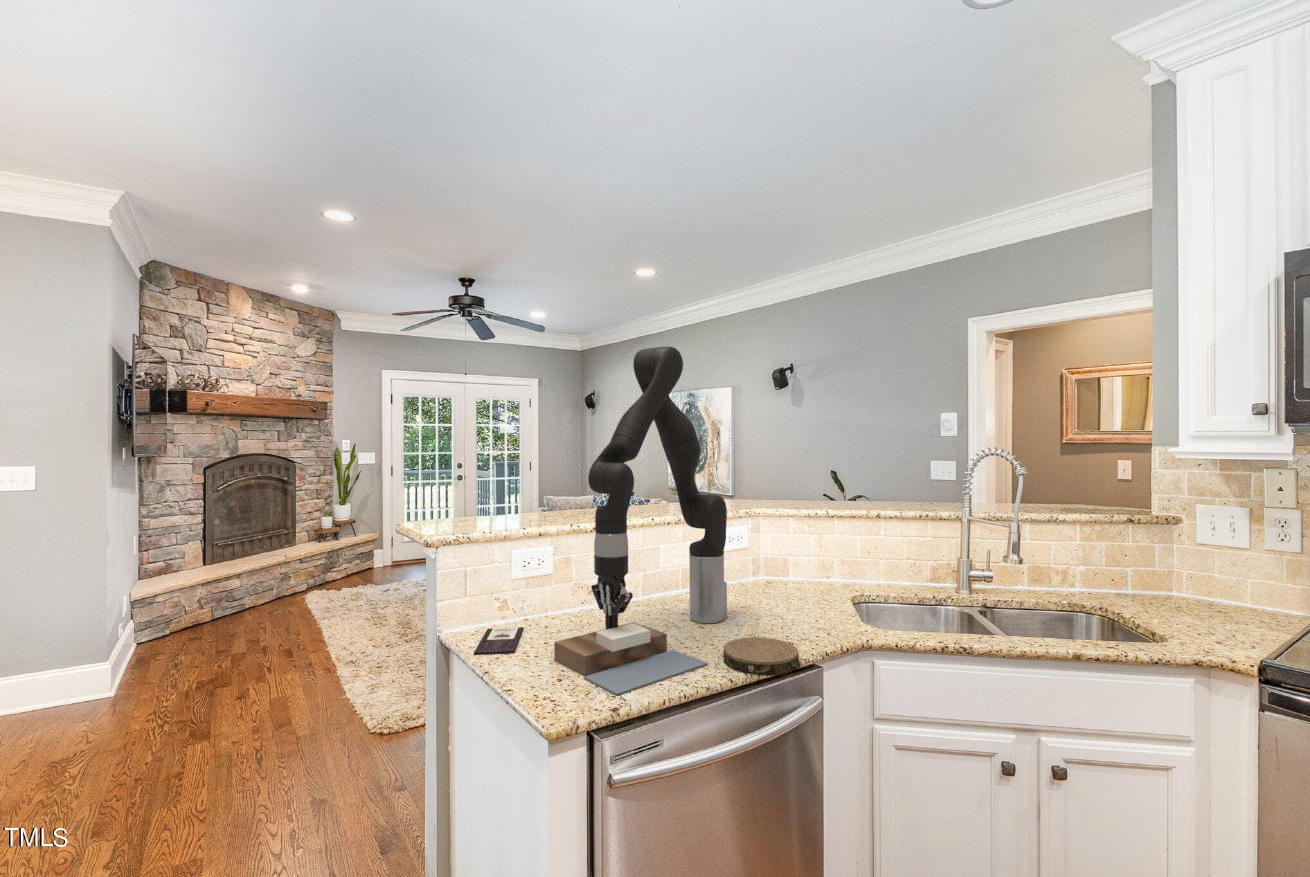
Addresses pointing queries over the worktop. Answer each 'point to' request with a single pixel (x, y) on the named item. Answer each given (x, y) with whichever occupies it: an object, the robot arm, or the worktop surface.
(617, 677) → the mat
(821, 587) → the worktop surface
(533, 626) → the worktop surface
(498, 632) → the chocolate bar
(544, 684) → the worktop surface
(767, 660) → the brown round disc
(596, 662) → the board
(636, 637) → the tile
